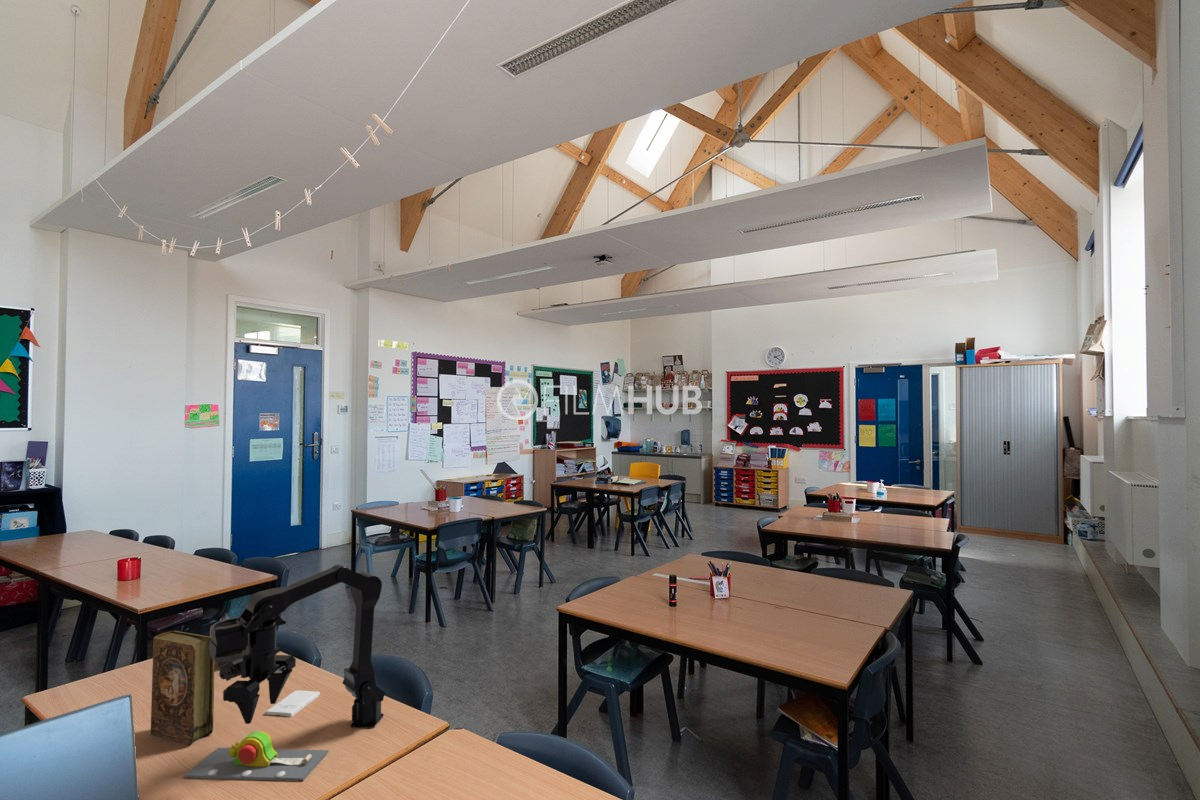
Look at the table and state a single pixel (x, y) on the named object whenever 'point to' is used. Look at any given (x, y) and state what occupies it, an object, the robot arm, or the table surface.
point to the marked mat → (224, 767)
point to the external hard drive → (292, 703)
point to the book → (182, 687)
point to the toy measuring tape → (260, 752)
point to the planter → (232, 657)
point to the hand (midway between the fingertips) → (260, 713)
